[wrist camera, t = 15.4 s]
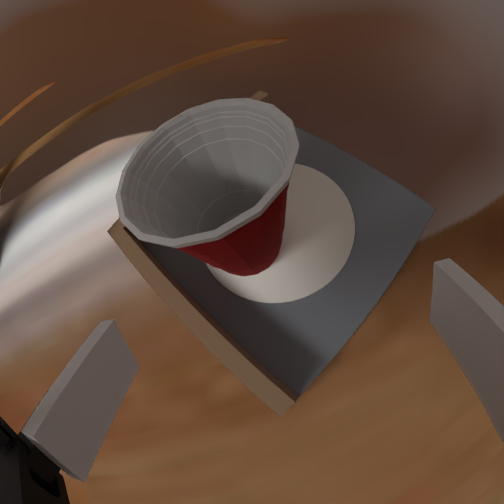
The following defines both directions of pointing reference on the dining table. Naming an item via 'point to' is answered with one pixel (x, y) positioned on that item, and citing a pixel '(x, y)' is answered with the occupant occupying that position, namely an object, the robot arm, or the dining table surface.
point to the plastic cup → (214, 184)
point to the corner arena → (294, 273)
